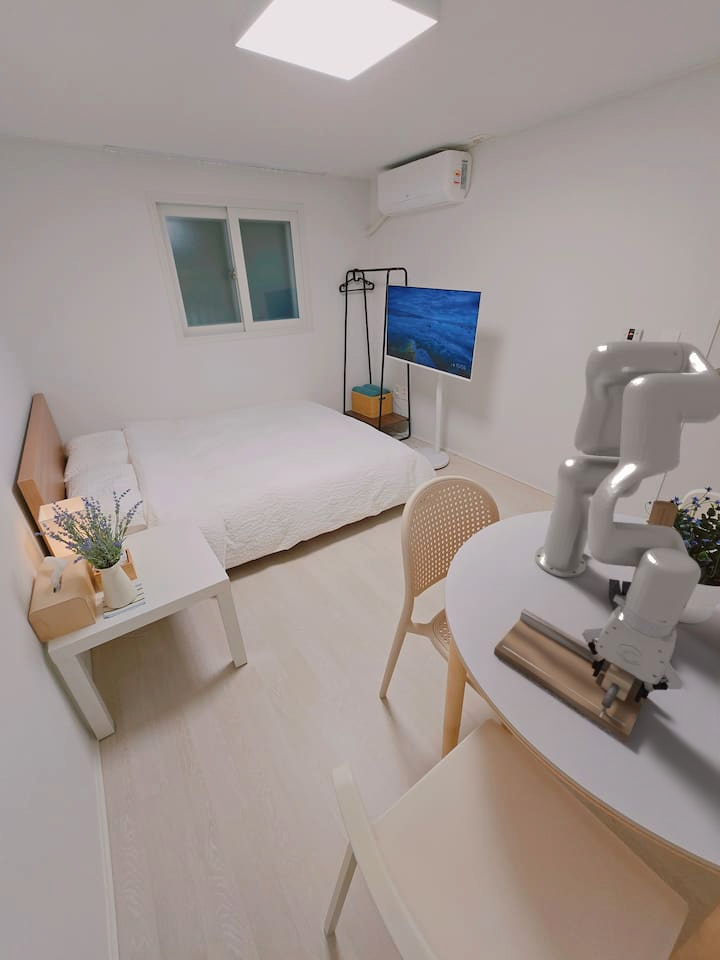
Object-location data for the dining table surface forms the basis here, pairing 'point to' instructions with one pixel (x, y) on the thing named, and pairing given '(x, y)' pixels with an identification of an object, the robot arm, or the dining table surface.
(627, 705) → the board
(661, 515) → the hammer
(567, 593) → the dining table surface
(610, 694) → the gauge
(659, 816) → the dining table surface
